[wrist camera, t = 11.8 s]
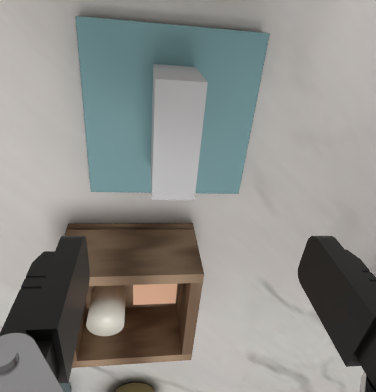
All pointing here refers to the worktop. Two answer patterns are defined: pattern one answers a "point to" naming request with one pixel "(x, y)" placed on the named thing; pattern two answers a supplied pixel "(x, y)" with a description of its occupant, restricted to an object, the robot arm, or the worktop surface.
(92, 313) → the cream cylinder
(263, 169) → the worktop surface
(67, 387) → the grey-blue cup
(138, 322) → the walnut box
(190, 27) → the lid
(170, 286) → the peach cube
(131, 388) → the squeeze bottle
